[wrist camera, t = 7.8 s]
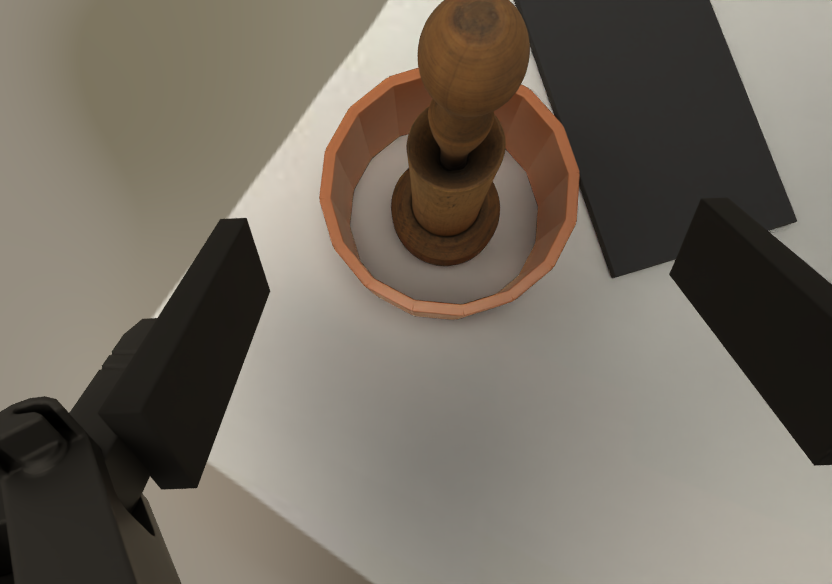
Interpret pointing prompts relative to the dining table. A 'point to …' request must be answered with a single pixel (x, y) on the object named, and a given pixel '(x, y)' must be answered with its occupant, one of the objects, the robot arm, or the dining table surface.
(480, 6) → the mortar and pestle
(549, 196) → the copper pot
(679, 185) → the rubber mat
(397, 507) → the dining table surface
